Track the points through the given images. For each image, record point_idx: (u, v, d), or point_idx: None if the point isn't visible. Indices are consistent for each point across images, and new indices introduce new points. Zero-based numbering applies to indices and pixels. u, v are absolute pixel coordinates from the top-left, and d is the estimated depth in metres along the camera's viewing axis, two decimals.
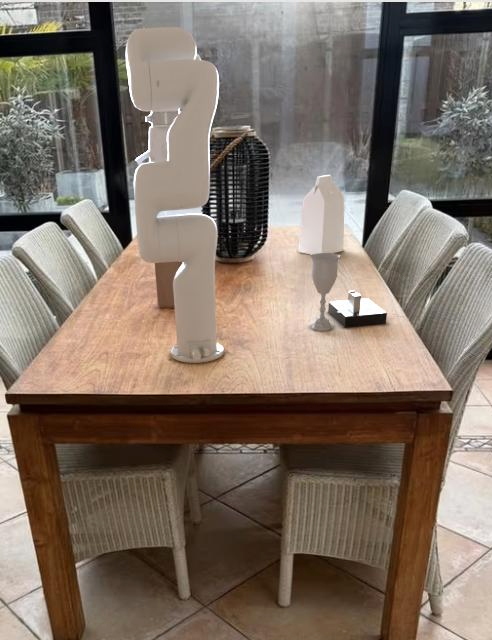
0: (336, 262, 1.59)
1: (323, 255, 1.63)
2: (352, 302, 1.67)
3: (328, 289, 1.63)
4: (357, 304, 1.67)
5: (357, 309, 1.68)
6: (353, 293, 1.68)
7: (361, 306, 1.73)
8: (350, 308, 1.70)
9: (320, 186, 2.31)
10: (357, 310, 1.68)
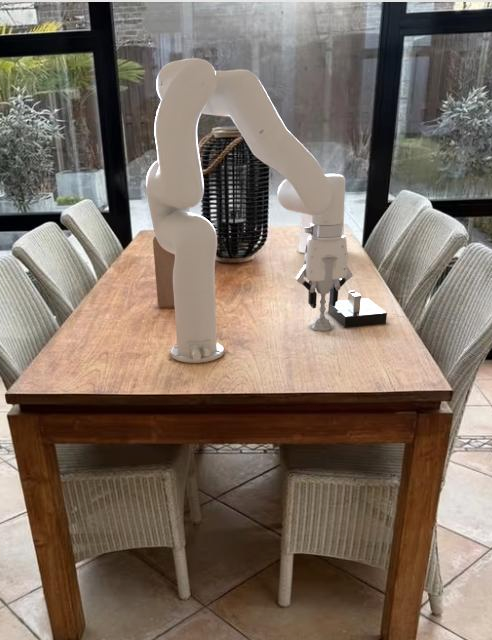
0: None
1: None
2: (352, 302, 1.67)
3: (328, 289, 1.63)
4: (357, 304, 1.67)
5: (357, 309, 1.68)
6: (353, 293, 1.68)
7: (361, 306, 1.73)
8: (350, 308, 1.70)
9: None
10: (357, 310, 1.68)
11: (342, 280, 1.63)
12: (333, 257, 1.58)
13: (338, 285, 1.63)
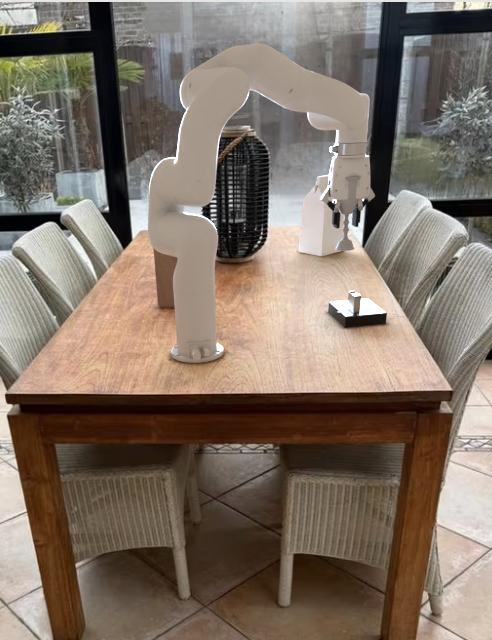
0: None
1: None
2: (352, 302, 1.67)
3: (351, 209, 1.69)
4: (357, 304, 1.67)
5: (357, 309, 1.68)
6: (353, 293, 1.68)
7: (361, 306, 1.73)
8: (350, 308, 1.70)
9: (320, 186, 2.31)
10: (357, 310, 1.68)
11: (365, 200, 1.70)
12: (357, 176, 1.65)
13: (361, 205, 1.70)
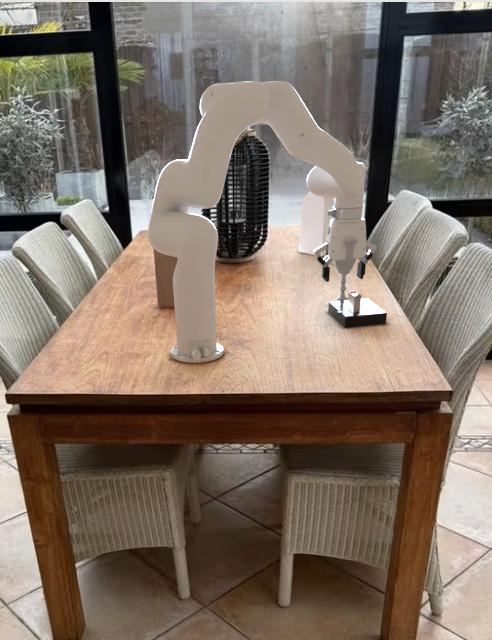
0: None
1: None
2: (352, 302, 1.67)
3: (348, 270, 1.78)
4: (357, 304, 1.67)
5: (357, 309, 1.68)
6: (353, 293, 1.68)
7: (361, 306, 1.73)
8: (350, 308, 1.70)
9: None
10: (357, 310, 1.68)
11: (369, 254, 1.78)
12: (353, 238, 1.73)
13: (366, 259, 1.78)
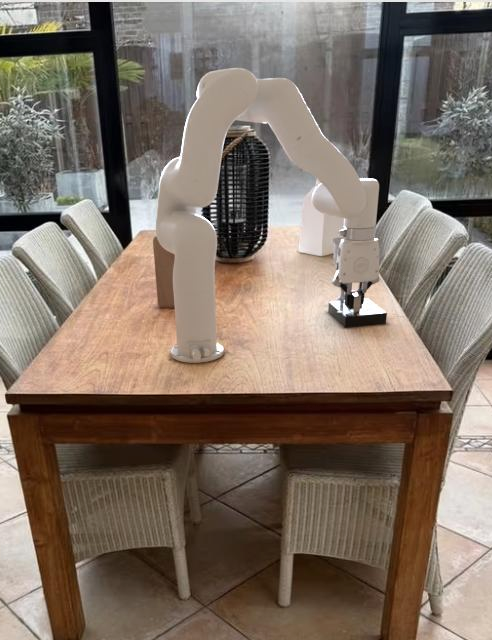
0: None
1: None
2: None
3: None
4: (357, 304, 1.67)
5: (357, 309, 1.68)
6: (353, 293, 1.68)
7: None
8: None
9: None
10: (357, 310, 1.68)
11: (368, 283, 1.66)
12: (366, 259, 1.61)
13: (364, 288, 1.66)
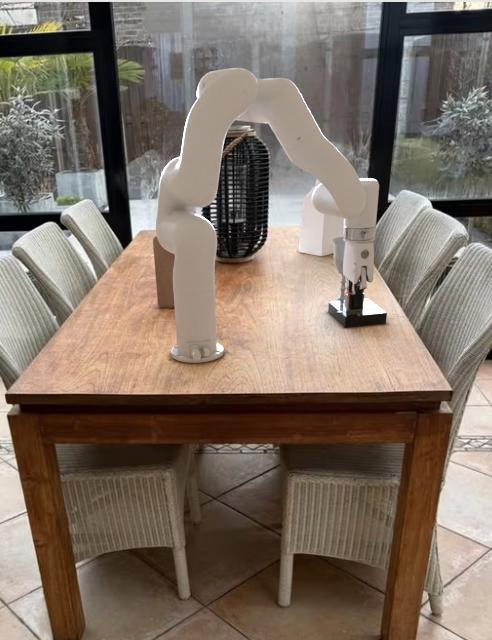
0: None
1: None
2: None
3: None
4: None
5: None
6: None
7: None
8: None
9: None
10: None
11: None
12: None
13: None
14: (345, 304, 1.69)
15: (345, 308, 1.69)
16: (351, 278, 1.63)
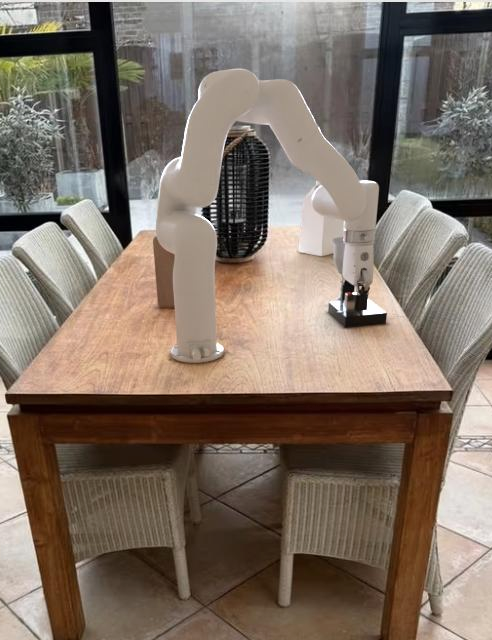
0: None
1: None
2: None
3: None
4: None
5: None
6: (354, 293, 1.68)
7: None
8: None
9: None
10: None
11: None
12: None
13: None
14: (345, 304, 1.69)
15: (345, 308, 1.69)
16: (350, 280, 1.64)
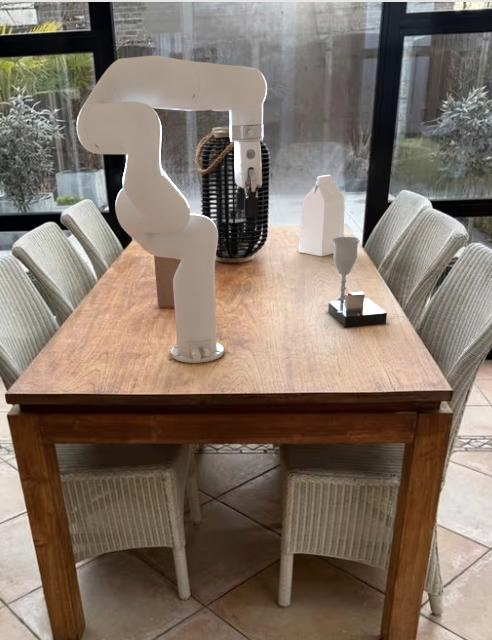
0: (356, 245, 1.75)
1: (344, 239, 1.79)
2: (361, 300, 1.68)
3: (348, 270, 1.78)
4: None
5: None
6: (354, 293, 1.68)
7: None
8: (355, 309, 1.69)
9: (320, 186, 2.31)
10: None
11: None
12: None
13: None
14: (345, 304, 1.69)
15: (345, 308, 1.69)
16: (239, 182, 1.54)
